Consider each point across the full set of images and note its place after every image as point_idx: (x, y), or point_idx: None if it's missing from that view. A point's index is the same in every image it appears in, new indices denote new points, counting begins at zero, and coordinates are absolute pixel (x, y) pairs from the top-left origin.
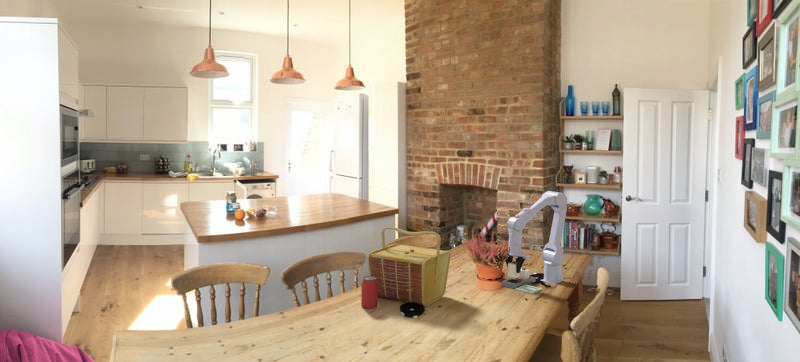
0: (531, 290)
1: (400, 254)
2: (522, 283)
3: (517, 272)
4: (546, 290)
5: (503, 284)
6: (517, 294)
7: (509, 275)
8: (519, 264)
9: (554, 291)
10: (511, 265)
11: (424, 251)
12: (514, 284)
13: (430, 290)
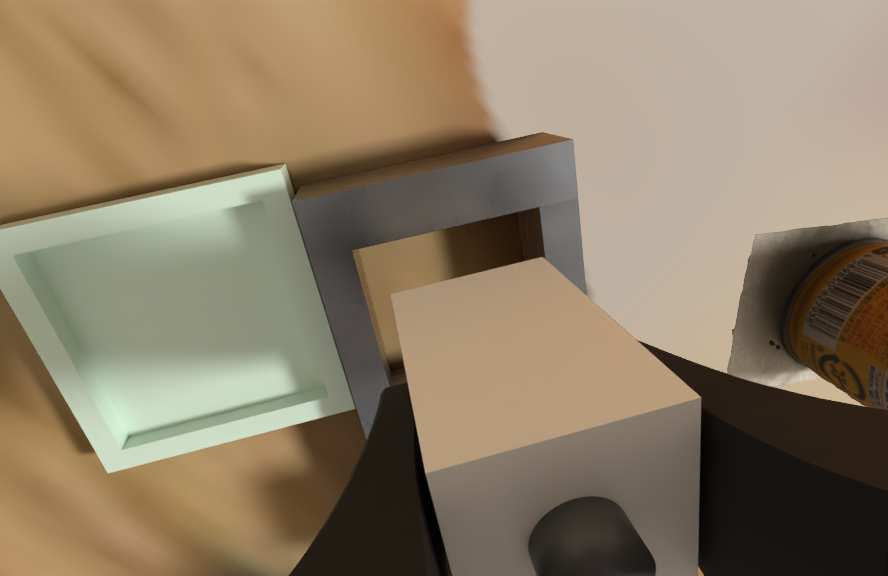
0: (145, 333)
1: None
2: (347, 370)
3: (388, 392)
4: (119, 506)
5: (516, 145)
6: (112, 38)
7: (515, 274)
8: (313, 558)
9: (43, 554)
10: (559, 400)
11: None
12: (329, 199)
13: None
